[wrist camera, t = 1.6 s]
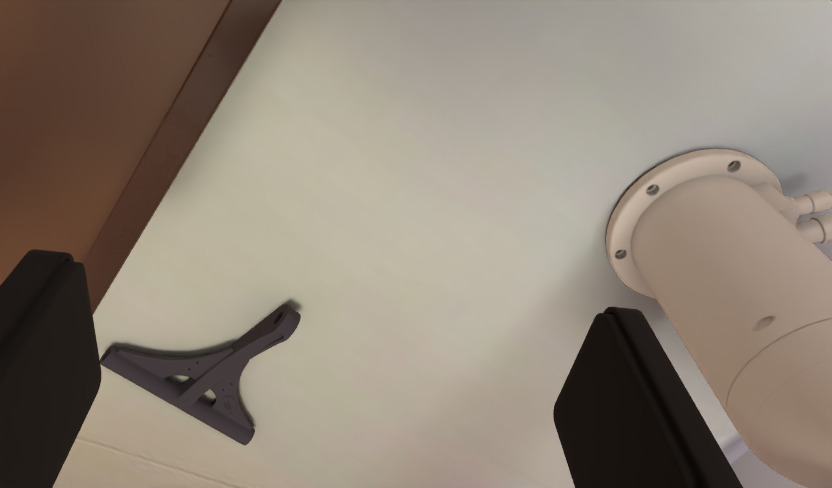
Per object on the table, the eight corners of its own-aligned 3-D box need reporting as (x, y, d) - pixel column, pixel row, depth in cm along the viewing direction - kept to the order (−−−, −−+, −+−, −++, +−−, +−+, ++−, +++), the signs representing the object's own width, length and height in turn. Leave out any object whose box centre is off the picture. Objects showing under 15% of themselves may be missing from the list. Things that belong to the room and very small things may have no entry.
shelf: (-46, 98, 36) (-344, 277, 21) (93, -290, 27) (-265, -458, 12) (158, 205, 41) (33, 413, 26) (337, -91, 32) (301, -32, 17)
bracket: (360, 351, 50) (359, 375, 47) (244, 433, 55) (238, 459, 52) (222, 247, 43) (213, 269, 41) (104, 351, 48) (90, 376, 46)
